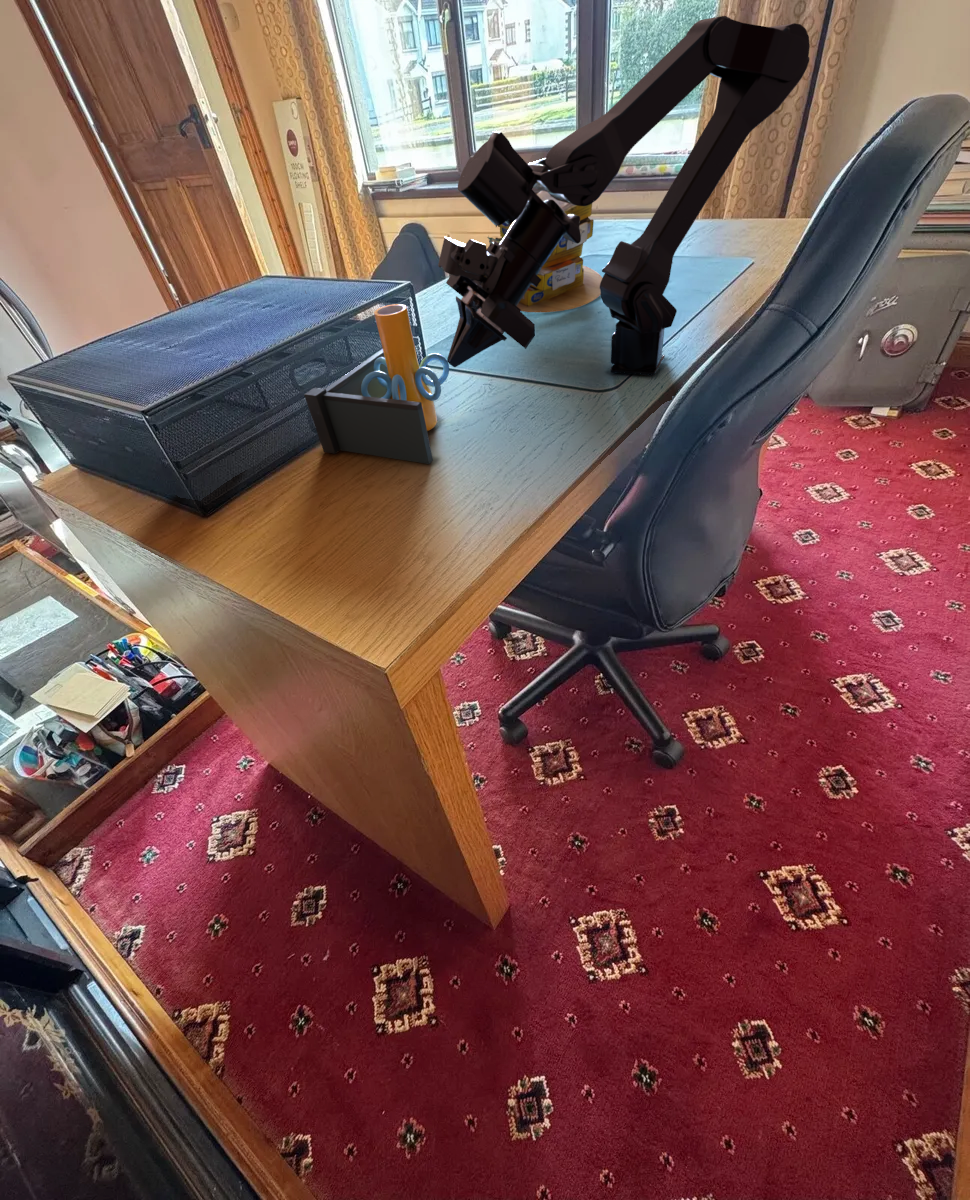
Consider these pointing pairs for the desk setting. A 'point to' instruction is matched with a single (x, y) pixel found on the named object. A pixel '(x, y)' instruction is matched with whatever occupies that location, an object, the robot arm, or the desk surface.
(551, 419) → the desk surface
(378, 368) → the cylinder
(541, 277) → the stacked yellow boxes
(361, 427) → the corner bracket
